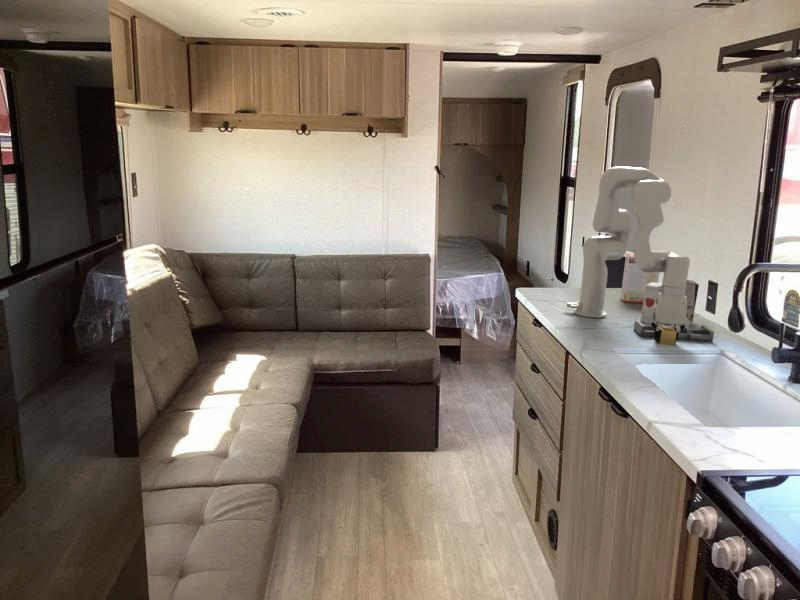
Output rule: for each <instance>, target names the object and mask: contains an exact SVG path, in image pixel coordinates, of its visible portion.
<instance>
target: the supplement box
mask: <svg viewBox="0 0 800 600" xmlns="http://www.w3.org/2000/svg"><path fill="white" fill-rule="evenodd" d="M661 284H662V283H660V282H658V283H655V282H652V283H649V284H647V285H646V287H645V294H644V300H643V303H642V307H641V313H640V319H639V321H640V322H641V323H645V324H650V323H649V322H648V321H647V320H646V319H647V318H648V317H649V316H650V315H651V314H652V313H653V311H654V307H655V303H656V300H657V297H658V294H659V293H661V292H660V291H659V290H657V287H660V286H661ZM652 321H653V322H654V323H656V321H655V320H654V319H652ZM650 325H651V324H650ZM664 325H665V326H667V324H664Z"/></svg>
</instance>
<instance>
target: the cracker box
mask: <svg viewBox="0 0 800 600" xmlns="http://www.w3.org/2000/svg"><path fill="white" fill-rule="evenodd" d="M623 268H624V270H623V277H622V284H621V285H622V286H621V292H620V300H621V301H622V302H623V303H632V304H633V303H634V304H637V303H638V304H643V300H644V294H645V287H646V285H647V284H649V283H652V282H655V283H659V280H660V279H659V278H660V273H661V272H653V273H646V272H642V271H641V270H640V269H639V268H638V266H637V264H636V261H635V257H634V254H627V253H625V262H624V267H623Z"/></svg>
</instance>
